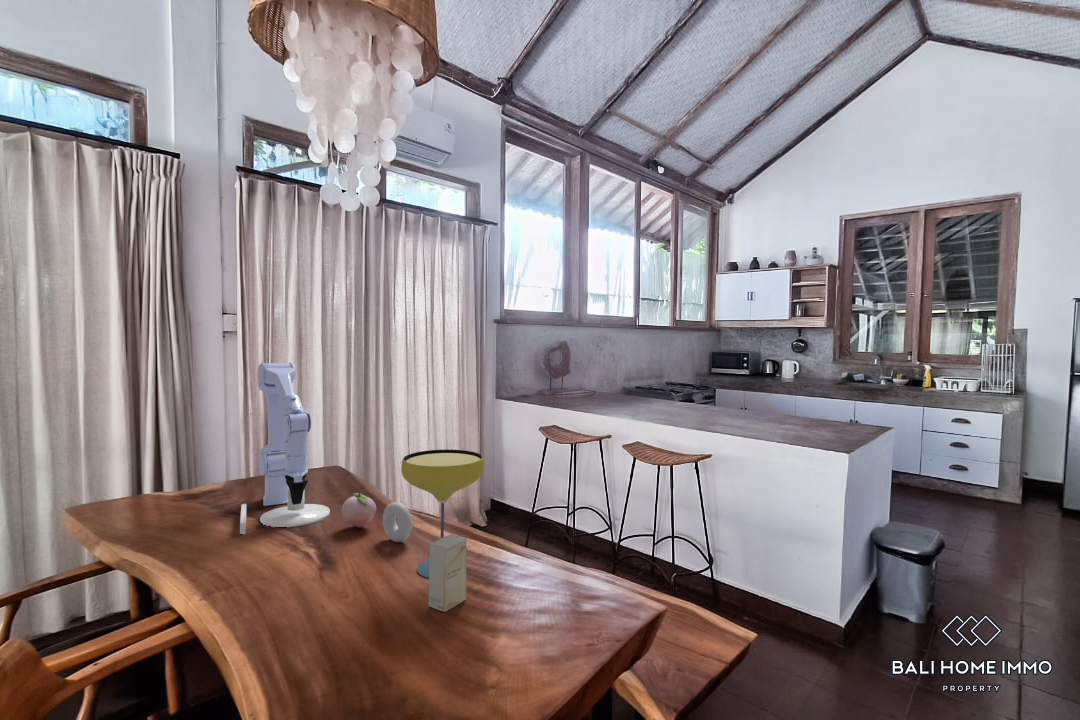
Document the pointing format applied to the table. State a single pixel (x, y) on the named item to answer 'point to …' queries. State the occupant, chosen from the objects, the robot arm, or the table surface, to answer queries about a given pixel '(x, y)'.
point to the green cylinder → (296, 506)
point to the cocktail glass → (441, 477)
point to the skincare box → (447, 572)
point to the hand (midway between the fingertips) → (296, 501)
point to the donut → (404, 522)
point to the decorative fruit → (358, 510)
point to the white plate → (295, 516)
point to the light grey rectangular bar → (243, 519)
